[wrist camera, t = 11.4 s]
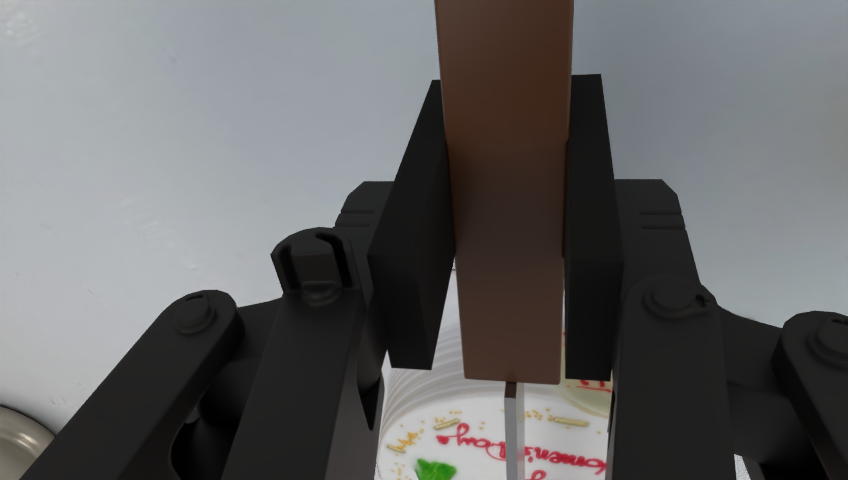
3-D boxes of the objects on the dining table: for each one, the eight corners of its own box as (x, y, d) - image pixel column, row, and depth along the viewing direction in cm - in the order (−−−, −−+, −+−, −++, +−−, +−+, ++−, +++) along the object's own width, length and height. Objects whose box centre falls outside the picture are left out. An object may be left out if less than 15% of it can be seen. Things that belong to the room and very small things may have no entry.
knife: (457, -74, 13) (423, -48, 10) (572, -84, 13) (576, -60, 9) (493, 560, 26) (483, 665, 22) (551, 567, 25) (550, 676, 22)
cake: (648, 502, 39) (663, 649, 33) (373, 450, 41) (339, 580, 35) (760, 314, 27) (816, 489, 21) (367, 254, 29) (313, 398, 23)
